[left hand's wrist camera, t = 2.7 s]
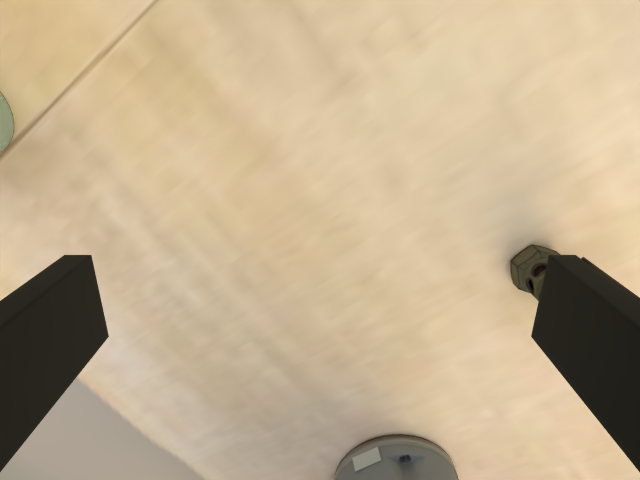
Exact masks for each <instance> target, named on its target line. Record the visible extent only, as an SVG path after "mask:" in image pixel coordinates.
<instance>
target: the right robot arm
mask: <svg viewBox="0 0 640 480" xmlns="http://www.w3.org/2000/svg"><path fill="white" fill-rule="evenodd" d="M335 480H458V477H457V473H456V470H455V467H454V465H453V462H452V461H451V459H450V457H449V456H448V455H447V454H446V453H445V452H444V451H443V450H442V449H441V448H440V447H438V446H437V445H435V444H433V443H431V442H429V441H427V440H424V439H421V438H417V437H412V436H403V435H395V436H386V437H381V438H377V439H373V440H370V441H368V442H365V443H363V444H361V445H360V446H358V447H356V448H355V449H353V450H352V451H351V452H350V453H349V454H347V455H346V457H345V458H344V459H343V460H342V461H341V463H340V465H339V466H338V469H337V471H336V475H335Z"/></svg>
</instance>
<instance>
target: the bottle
mask: <svg viewBox="0 0 640 480" xmlns="http://www.w3.org/2000/svg"><path fill="white" fill-rule="evenodd" d="M13 131H14V121H13V116H12V112H11V110H10V107H9V105H8V103H7V101H6V100H5V98H4V97H3V95H2V94H1V93H0V152H2V151H3V150H4V149H5V148H6V147H7V146H8V145H9V143H10V141H11V139H12V136H13Z"/></svg>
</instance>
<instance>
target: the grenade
mask: <svg viewBox="0 0 640 480" xmlns="http://www.w3.org/2000/svg"><path fill="white" fill-rule="evenodd" d="M549 255H560V254H559V253H558V252H556V251H554V250H551V249H548V248H544V247H540V246H536V245H531V246H530V247H528V248H526V249H525V250H523V251H522V252H520V253H519V254H518V255H517V256H516V257H515V258H514V259H513V260H512V261H511V273H512V280H513V283H514V285H515V286H516V287H517V288H518V289H520V290H523V291H525V292H529V293H531V294H532V295H533V296H534V297H535V298H536V299H537V300H538V301H539V298H540V294H541V289H542V284H543V280H544V275H545V270H546V266H547V261H548V256H549ZM581 259H582V260H583V261H584V262H586V263H587V264H589V265H590V266H591V267H593V268H594V269H596V270H597V271H598V272H600V273H601V274H603V275H604V276H605V277H607V278H608V279H610V280H611V281H612V282H614V283H615V284H617V285H618V286H619V287H621V288H622V289H624V290H625V291H626V292H628V293H629V294H631V295H632V296H633V297H635V298H636V299H638V300H639V301H640V298H639V297H638V296H636V295H635V294H634V293H632V292H631V291H630V290H628V289H627V288H625V287H624V286H623V285H621V284H620V283H619V282H617V281H616V280H614V279H613V278H612V277H610V276H609V275H608V274H606V273H605V272H603V271H602V270H601V269H599V268H598V267H597V266H595V265H594V264H592V263H591V262H590V261H588V260H587V259H586V258H584V257H582V258H581Z"/></svg>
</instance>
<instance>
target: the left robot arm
mask: <svg viewBox="0 0 640 480" xmlns="http://www.w3.org/2000/svg"><path fill="white" fill-rule="evenodd" d="M108 337H109V335H108V331H107V326H106V322H105V317H104V312H103V308H102V303H101V298H100V294H99V289H98V284H97V280H96V275H95V270H94V266H93V261H92V256H91V255H64V256H63V257H61V258H60V259H58V260H57V261H56V262H54V263H53V264H51V265H50V266H49V267H47V268H46V269H44V270H43V271H42V272H40V273H39V274H37V275H36V276H35V277H33V278H32V279H30V280H29V281H28V282H26V283H25V284H23V285H22V286H21V287H19V288H18V289H16V290H15V291H14V292H12V293H11V294H9V295H8V296H7V297H5V298H4V299H2V300H1V301H0V472H1V470H2V469H3V468H4V467H5V465H6V464H7V463H8V462H9V460H10V459H11V458H12V457H13V455H14V454H15V453H16V452H17V451H18V449H19V448H20V447H21V446H22V444H23V443H24V442H25V441H26V439H27V438H28V437H29V436H30V434H31V433H32V432H33V431H34V429H35V428H36V427H37V426H38V424H39V423H40V422H41V421H42V419H43V418H44V417H45V416H46V414H47V413H48V412H49V411H50V409H51V408H52V407H53V406H54V404H55V403H56V402H57V401H58V399H59V398H60V397H61V395H62V394H63V393H64V392H65V391H66V389H67V388H68V387H69V386H70V384H71V383H72V382H73V380H74V379H75V378H76V377H77V376H78V374H79V373H80V372H81V371H82V369H83V368H84V367H85V366H86V364H87V363H88V362H89V361H90V359H91V358H92V357H93V356H94V354H95V353H96V352H97V351H98V349H99V348H100V347H101V346H102V344H103V343H104V342H105V341H106V339H107V338H108ZM531 337H532V338H533V339H534V341H535V342H536V343H537V344H538V346H539V347H540V348H541V349H542V351H543V352H544V353H545V354H546V356H547V357H548V358H549V359H550V361H551V362H552V363H553V364H554V366H555V367H556V368H557V369H558V371H559V372H560V373H561V374H562V376H563V377H564V378H565V379H566V381H567V382H568V383H569V384H570V386H571V387H572V388H573V389H574V391H575V392H576V393H577V394H578V396H579V397H580V398H581V399H582V401H583V402H584V403H585V404H586V406H587V407H588V408H589V409H590V411H591V412H592V413H593V414H594V416H595V417H596V418H597V419H598V421H599V422H600V423H601V424H602V426H603V427H604V428H605V429H606V431H607V432H608V433H609V434H610V436H611V437H612V438H613V439H614V441H615V442H616V443H617V444H618V446H619V447H620V448H621V449H622V451H623V452H624V453H625V454H626V456H627V457H628V458H629V459H630V461H631V462H632V463H633V464H634V466H635V467H636V468H637V469H638V471H639V472H640V301H639V300H638V299H636V298H635V297H633V296H632V295H631V294H629V293H628V292H626V291H625V290H624V289H622V288H621V287H619V286H618V285H617V284H615V283H614V282H612V281H611V280H610V279H608V278H607V277H605V276H604V275H603V274H601V273H600V272H598V271H597V270H596V269H594V268H593V267H591V266H590V265H589V264H587V263H586V262H584V261H583V260H582V259H580V258H579V257H577V256H576V255H549V256H548V261H547V266H546V270H545V275H544V280H543V284H542V289H541V294H540V298H539V303H538V308H537V312H536V317H535V321H534V326H533V331H532V335H531Z"/></svg>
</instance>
